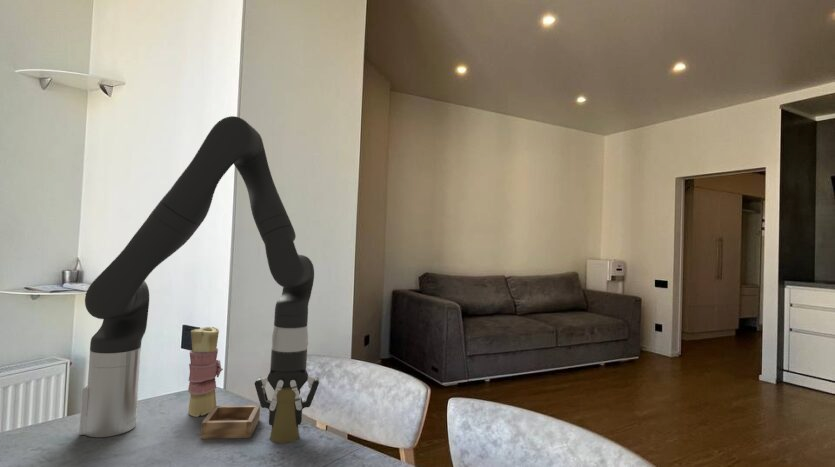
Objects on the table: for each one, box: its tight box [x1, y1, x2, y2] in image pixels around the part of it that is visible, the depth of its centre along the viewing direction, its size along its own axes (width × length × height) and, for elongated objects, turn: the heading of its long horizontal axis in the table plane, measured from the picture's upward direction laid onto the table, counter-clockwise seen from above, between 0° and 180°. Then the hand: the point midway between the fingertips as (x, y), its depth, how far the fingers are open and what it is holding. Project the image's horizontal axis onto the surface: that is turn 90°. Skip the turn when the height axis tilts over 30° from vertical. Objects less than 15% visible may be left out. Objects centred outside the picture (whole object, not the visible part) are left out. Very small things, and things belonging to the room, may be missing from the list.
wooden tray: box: [200, 404, 261, 440], centre depth 99 cm, size 10×10×3 cm
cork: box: [269, 387, 300, 444], centre depth 97 cm, size 6×6×11 cm
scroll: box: [187, 326, 224, 418], centre depth 109 cm, size 8×8×20 cm
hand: (285, 426), depth 97 cm, fingers closed on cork, 4 cm apart
